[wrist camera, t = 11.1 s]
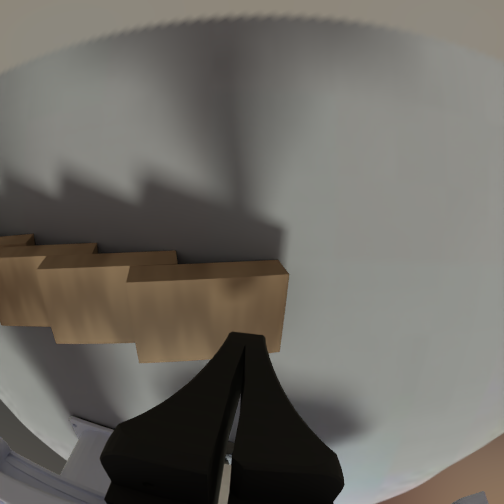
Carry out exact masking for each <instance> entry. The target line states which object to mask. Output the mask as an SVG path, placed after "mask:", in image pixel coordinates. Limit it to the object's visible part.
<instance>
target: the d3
mask: <svg viewBox="0 0 504 504" xmlns="http://www.w3.org/2000/svg"><path fill="white" fill-rule="evenodd" d="M81 254H98V249H97V243H79V244H57V245H36V246H16V247H0V322H1V325H4V326H44V327H51V325H50V321H49V318H48V314H47V311H46V307H45V303H44V299H43V295H42V291H41V287H40V282H39V278H38V273H37V268H38V267H39V265H40V264H41V263H42V261H43V260H44V258H45V257H46V256H60V255H81Z"/></svg>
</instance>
